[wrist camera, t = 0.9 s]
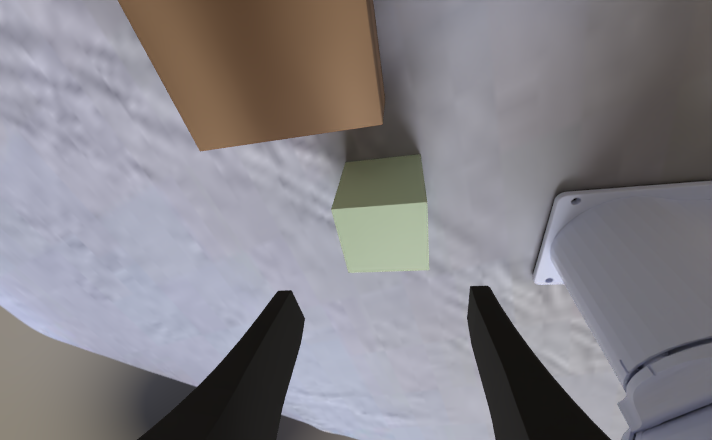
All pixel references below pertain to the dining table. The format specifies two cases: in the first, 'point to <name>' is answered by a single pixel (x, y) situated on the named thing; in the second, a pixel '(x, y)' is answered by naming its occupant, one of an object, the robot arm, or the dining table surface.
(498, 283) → the dining table surface
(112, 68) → the dining table surface
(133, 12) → the walnut block
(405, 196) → the sage block
